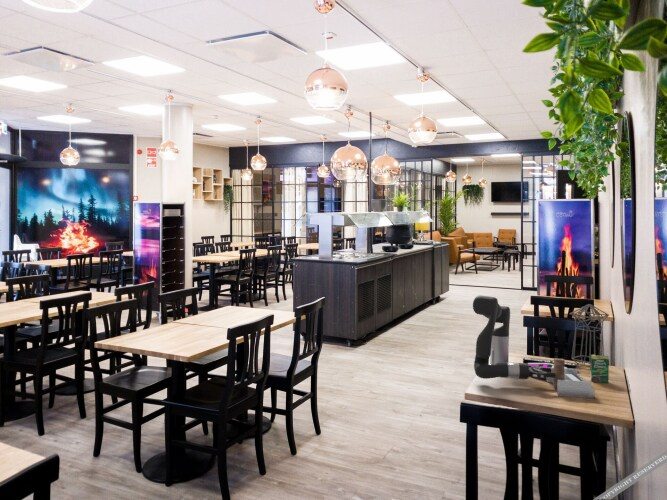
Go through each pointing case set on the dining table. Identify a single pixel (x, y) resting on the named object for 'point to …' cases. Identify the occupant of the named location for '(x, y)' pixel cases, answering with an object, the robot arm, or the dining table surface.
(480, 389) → the dining table surface
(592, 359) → the coffee box
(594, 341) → the geometric lantern
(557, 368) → the walnut board
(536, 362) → the sign
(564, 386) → the rack
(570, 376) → the offcut stack
